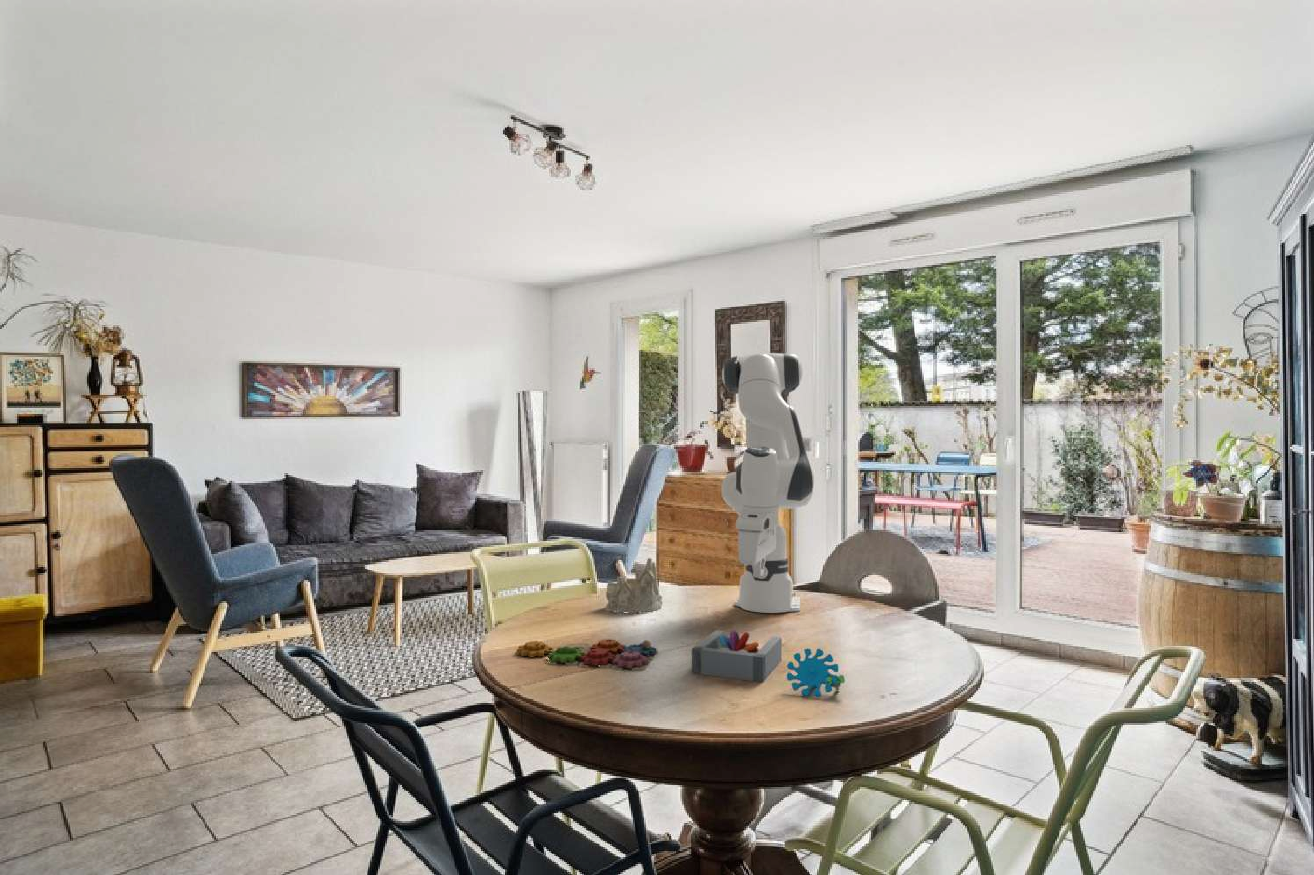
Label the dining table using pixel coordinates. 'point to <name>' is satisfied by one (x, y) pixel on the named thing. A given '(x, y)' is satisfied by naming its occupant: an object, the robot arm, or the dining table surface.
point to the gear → (814, 673)
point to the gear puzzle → (595, 654)
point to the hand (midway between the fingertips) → (758, 576)
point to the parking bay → (735, 659)
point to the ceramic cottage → (635, 592)
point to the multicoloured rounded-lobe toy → (738, 643)
